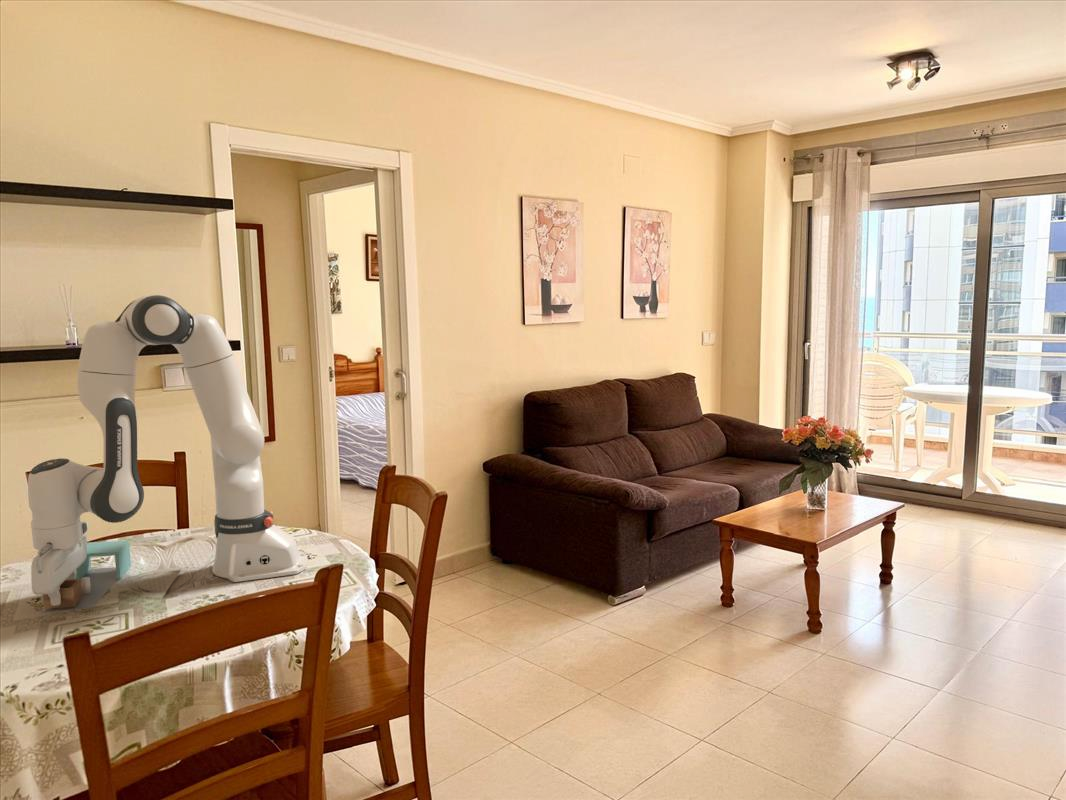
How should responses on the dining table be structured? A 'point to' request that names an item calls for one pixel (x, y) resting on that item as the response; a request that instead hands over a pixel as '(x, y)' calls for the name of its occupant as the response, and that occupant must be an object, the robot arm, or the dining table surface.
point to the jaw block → (66, 594)
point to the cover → (107, 549)
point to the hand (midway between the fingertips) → (63, 597)
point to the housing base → (93, 587)
